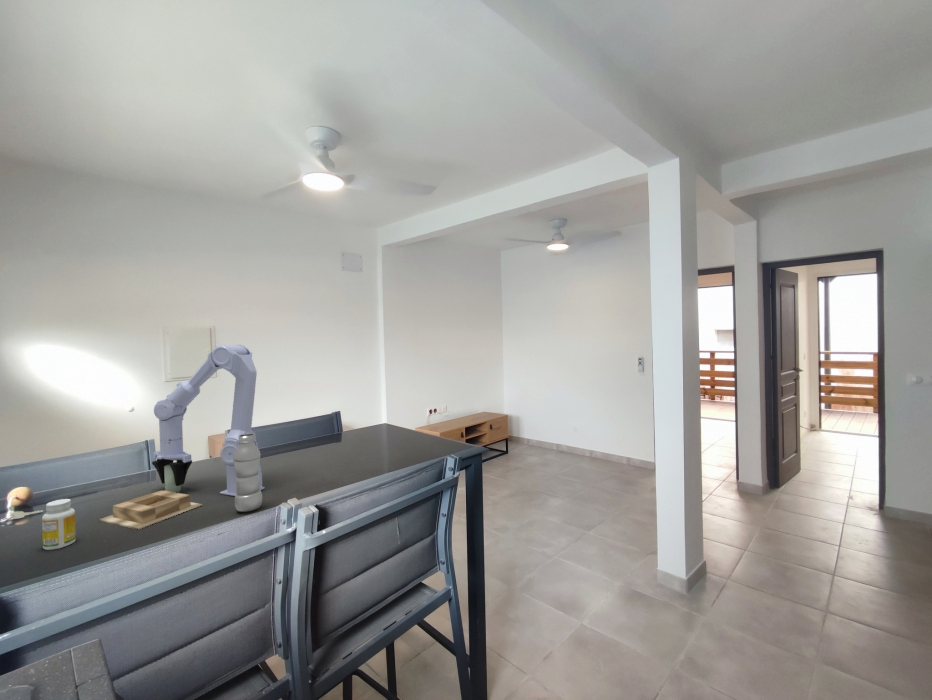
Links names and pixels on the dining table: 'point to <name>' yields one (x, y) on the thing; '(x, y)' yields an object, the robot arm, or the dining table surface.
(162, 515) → the socket block
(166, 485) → the dowel
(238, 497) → the plastic bottle
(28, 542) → the dining table surface
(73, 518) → the supplement bottle
